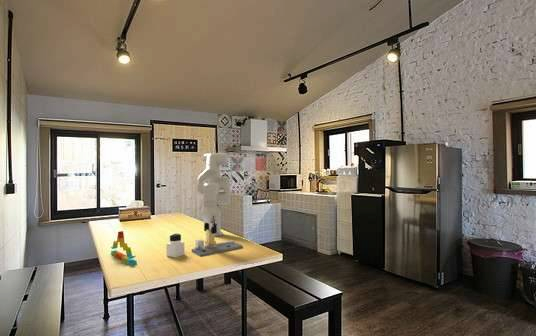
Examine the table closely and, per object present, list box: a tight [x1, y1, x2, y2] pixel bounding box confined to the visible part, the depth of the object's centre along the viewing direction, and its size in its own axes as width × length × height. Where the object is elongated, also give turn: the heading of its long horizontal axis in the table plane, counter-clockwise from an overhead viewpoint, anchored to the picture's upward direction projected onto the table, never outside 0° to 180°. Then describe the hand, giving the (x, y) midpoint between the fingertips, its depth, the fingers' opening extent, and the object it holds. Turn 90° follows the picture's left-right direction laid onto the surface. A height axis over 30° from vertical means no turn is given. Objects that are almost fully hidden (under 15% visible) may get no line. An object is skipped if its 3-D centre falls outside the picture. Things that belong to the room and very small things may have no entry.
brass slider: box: [204, 229, 217, 248], centre depth 181 cm, size 9×5×10 cm, turn 37°
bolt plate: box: [191, 239, 244, 257], centre depth 182 cm, size 12×28×6 cm, turn 127°
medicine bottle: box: [166, 233, 186, 258], centre depth 172 cm, size 7×7×12 cm
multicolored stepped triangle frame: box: [110, 230, 137, 266], centre depth 167 cm, size 30×3×15 cm, turn 45°
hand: (210, 232), depth 183 cm, fingers open, 9 cm apart
